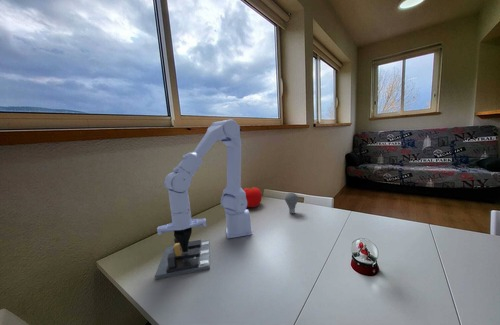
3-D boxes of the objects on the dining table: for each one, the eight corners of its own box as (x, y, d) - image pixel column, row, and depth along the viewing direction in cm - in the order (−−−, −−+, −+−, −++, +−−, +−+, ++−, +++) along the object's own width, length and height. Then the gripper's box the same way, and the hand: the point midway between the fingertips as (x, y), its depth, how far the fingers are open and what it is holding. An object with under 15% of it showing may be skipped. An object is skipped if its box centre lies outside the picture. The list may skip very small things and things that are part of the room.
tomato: (239, 210, 103) (237, 190, 101) (244, 202, 115) (242, 184, 113) (261, 210, 101) (259, 190, 100) (263, 201, 113) (262, 183, 111)
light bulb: (298, 215, 91) (298, 194, 89) (285, 215, 92) (284, 194, 91) (298, 210, 97) (297, 190, 95) (285, 210, 98) (284, 191, 96)
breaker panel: (209, 242, 73) (208, 229, 72) (209, 269, 59) (207, 252, 58) (166, 250, 70) (164, 236, 70) (155, 279, 56) (152, 262, 55)
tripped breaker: (182, 251, 65) (180, 242, 65) (181, 255, 63) (179, 246, 62) (176, 252, 65) (175, 243, 64) (175, 256, 63) (173, 247, 62)
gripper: (203, 202, 68) (207, 239, 70) (158, 209, 64) (163, 248, 66) (204, 209, 61) (209, 250, 63) (153, 217, 57) (159, 261, 59)
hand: (185, 250), depth 64 cm, fingers closed
